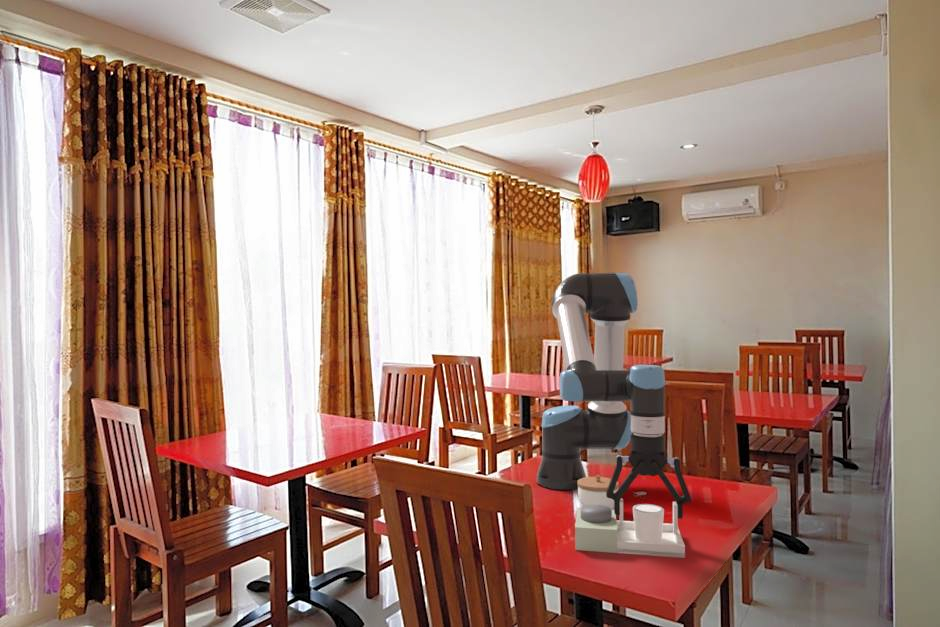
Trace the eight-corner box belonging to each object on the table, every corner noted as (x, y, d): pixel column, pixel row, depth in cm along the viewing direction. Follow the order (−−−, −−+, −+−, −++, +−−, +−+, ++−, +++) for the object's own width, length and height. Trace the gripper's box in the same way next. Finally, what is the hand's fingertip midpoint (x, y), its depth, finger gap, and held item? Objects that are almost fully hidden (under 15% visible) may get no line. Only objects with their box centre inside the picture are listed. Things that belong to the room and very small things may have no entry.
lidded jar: (588, 519, 154) (588, 482, 154) (570, 506, 164) (570, 472, 164) (626, 515, 157) (626, 479, 157) (606, 503, 167) (606, 469, 167)
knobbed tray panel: (577, 528, 148) (577, 499, 148) (676, 534, 143) (676, 504, 143) (575, 549, 134) (575, 518, 134) (685, 557, 130) (684, 525, 130)
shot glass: (632, 542, 136) (631, 511, 136) (633, 532, 142) (633, 502, 142) (664, 546, 134) (664, 514, 134) (664, 535, 140) (664, 504, 140)
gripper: (594, 435, 137) (595, 533, 137) (705, 438, 132) (705, 540, 132) (594, 428, 144) (595, 521, 144) (699, 432, 139) (700, 528, 139)
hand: (648, 530), depth 138 cm, fingers open, 11 cm apart
